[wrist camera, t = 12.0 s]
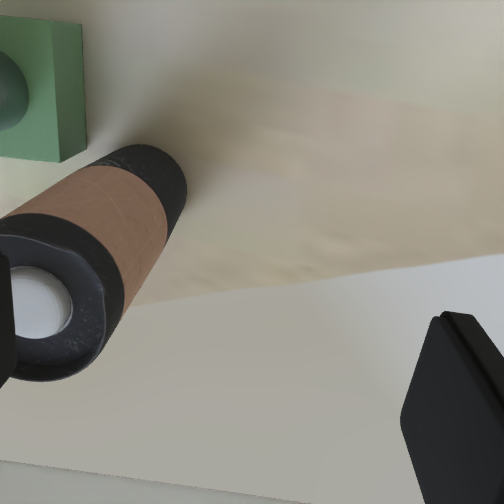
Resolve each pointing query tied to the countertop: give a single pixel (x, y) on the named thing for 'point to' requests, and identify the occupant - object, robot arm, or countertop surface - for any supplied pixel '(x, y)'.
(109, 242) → the travel mug
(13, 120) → the steel flask
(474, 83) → the countertop surface
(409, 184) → the countertop surface
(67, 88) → the green block
